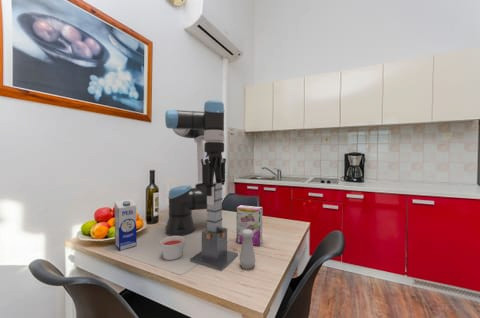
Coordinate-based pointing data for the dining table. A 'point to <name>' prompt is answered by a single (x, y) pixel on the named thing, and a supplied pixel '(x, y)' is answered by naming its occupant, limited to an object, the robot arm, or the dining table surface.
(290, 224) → the dining table surface
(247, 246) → the salt shaker
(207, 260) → the stand base
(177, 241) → the candle
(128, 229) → the milk carton
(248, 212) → the candy bar box
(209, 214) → the column
